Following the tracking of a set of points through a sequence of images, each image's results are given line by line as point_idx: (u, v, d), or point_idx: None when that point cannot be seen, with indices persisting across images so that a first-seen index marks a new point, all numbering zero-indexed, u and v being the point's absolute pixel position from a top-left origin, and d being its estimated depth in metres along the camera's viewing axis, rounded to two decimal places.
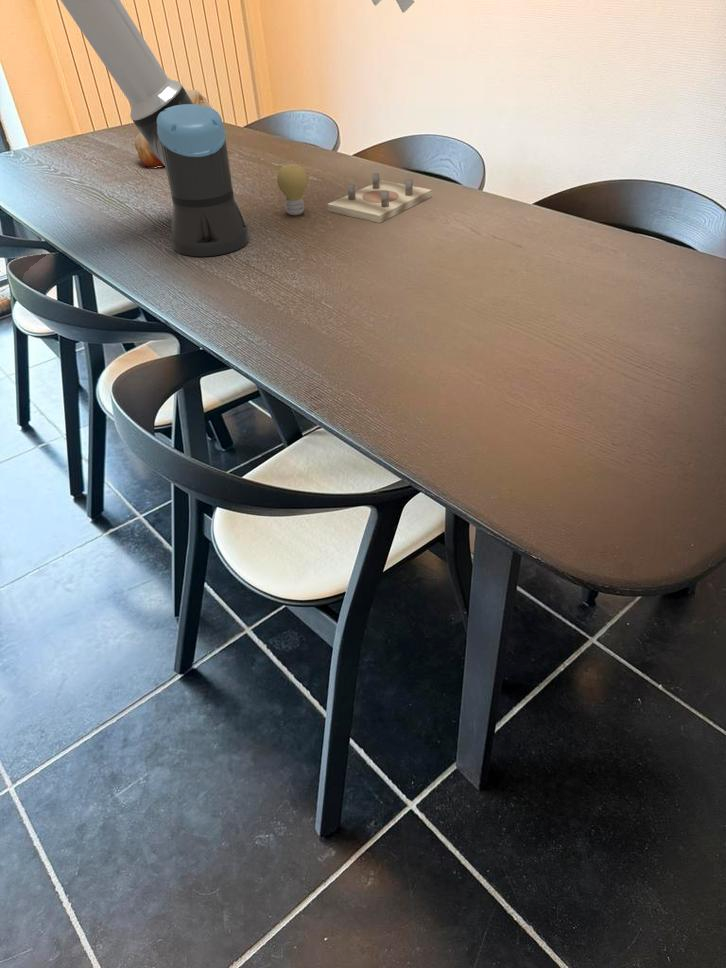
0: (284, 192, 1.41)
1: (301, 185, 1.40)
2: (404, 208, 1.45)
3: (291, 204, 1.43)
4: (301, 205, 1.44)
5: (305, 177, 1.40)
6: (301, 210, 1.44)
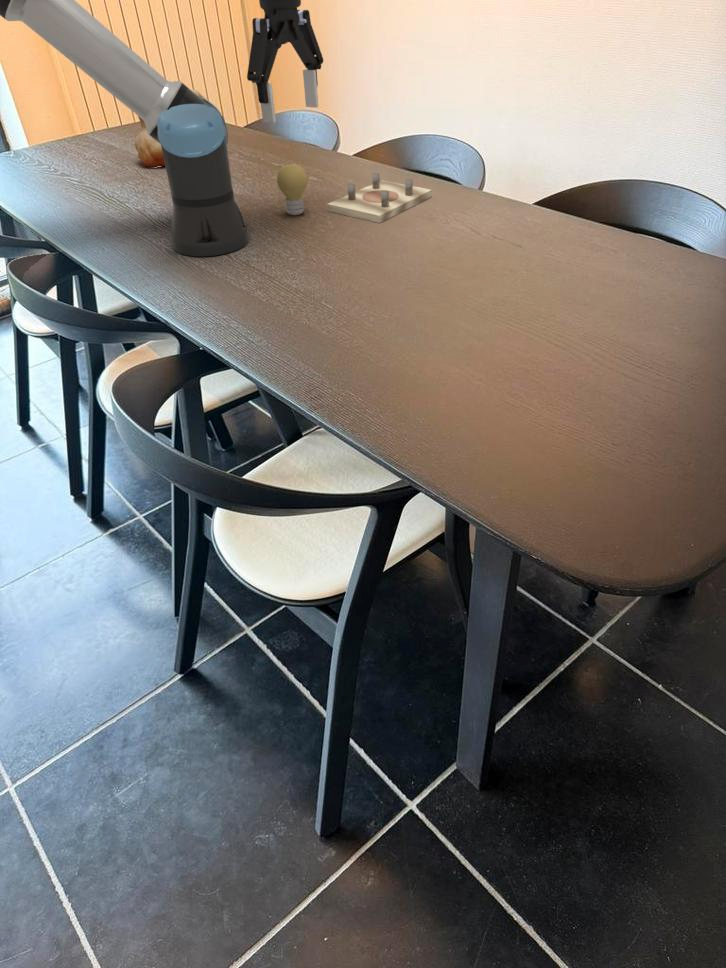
0: (284, 192, 1.41)
1: (301, 185, 1.40)
2: (404, 208, 1.45)
3: (291, 204, 1.43)
4: (301, 205, 1.44)
5: (305, 177, 1.40)
6: (301, 210, 1.44)
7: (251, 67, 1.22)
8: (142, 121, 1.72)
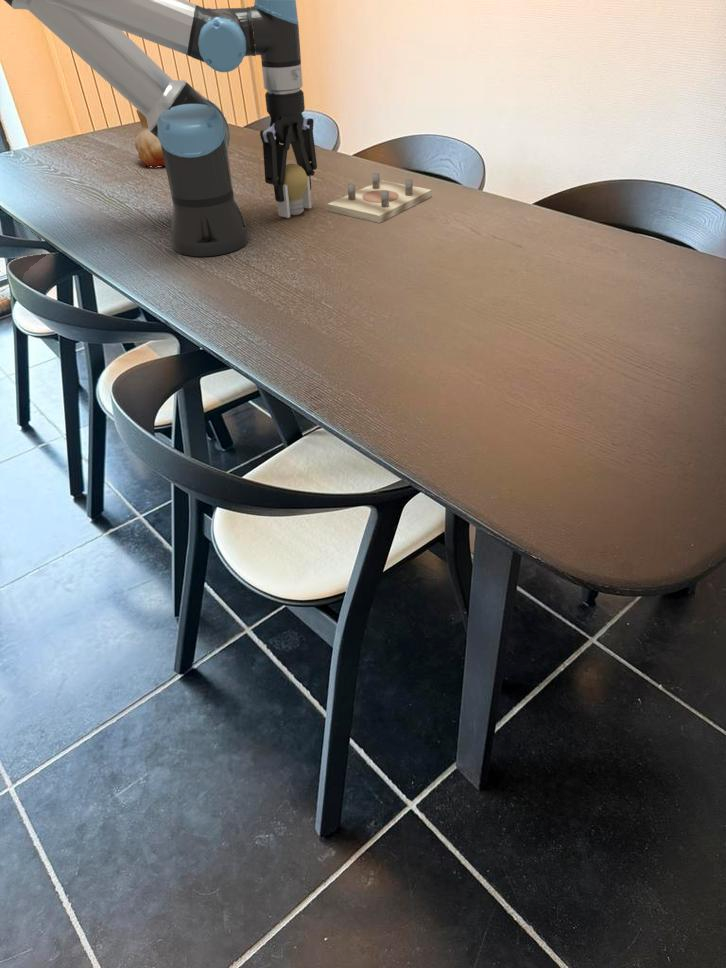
0: None
1: (301, 185, 1.40)
2: (404, 208, 1.45)
3: (291, 204, 1.43)
4: (301, 205, 1.44)
5: (305, 177, 1.40)
6: (301, 210, 1.44)
7: (267, 173, 1.35)
8: (142, 121, 1.72)
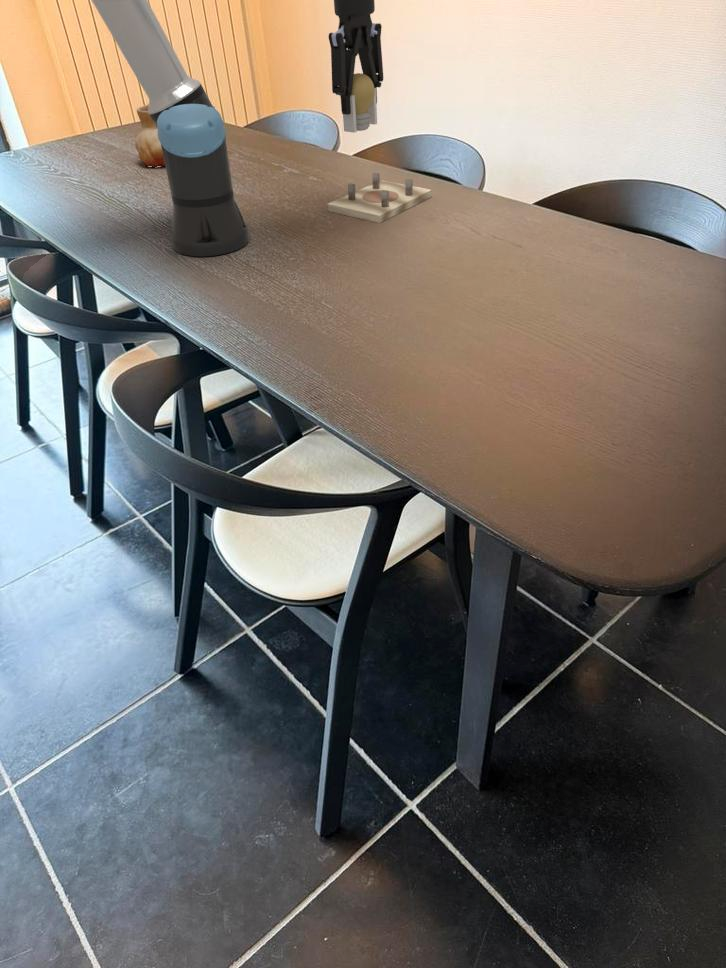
0: None
1: (368, 95, 1.32)
2: (404, 208, 1.45)
3: (357, 118, 1.35)
4: (367, 119, 1.36)
5: (373, 87, 1.32)
6: (367, 125, 1.37)
7: (335, 81, 1.28)
8: (142, 121, 1.72)
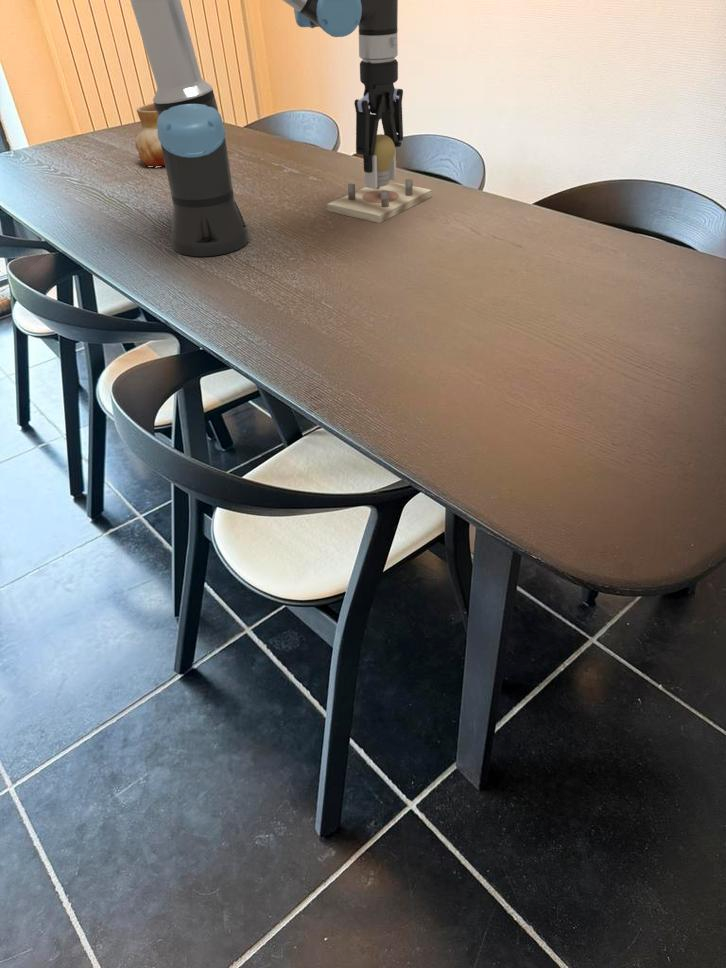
0: None
1: (390, 155, 1.40)
2: (404, 208, 1.45)
3: (378, 175, 1.43)
4: (388, 176, 1.44)
5: (394, 147, 1.40)
6: (387, 181, 1.45)
7: (359, 143, 1.36)
8: (143, 121, 1.72)
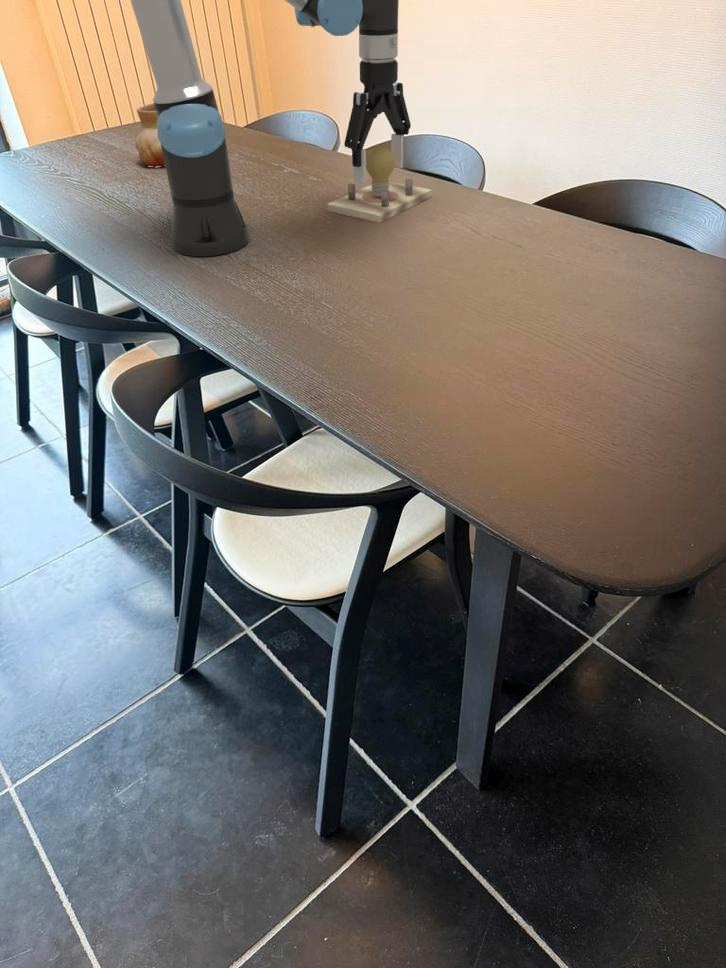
0: (372, 174, 1.43)
1: (389, 167, 1.42)
2: (404, 208, 1.45)
3: (378, 186, 1.45)
4: (387, 187, 1.46)
5: (393, 159, 1.42)
6: None
7: (349, 135, 1.33)
8: (143, 121, 1.72)
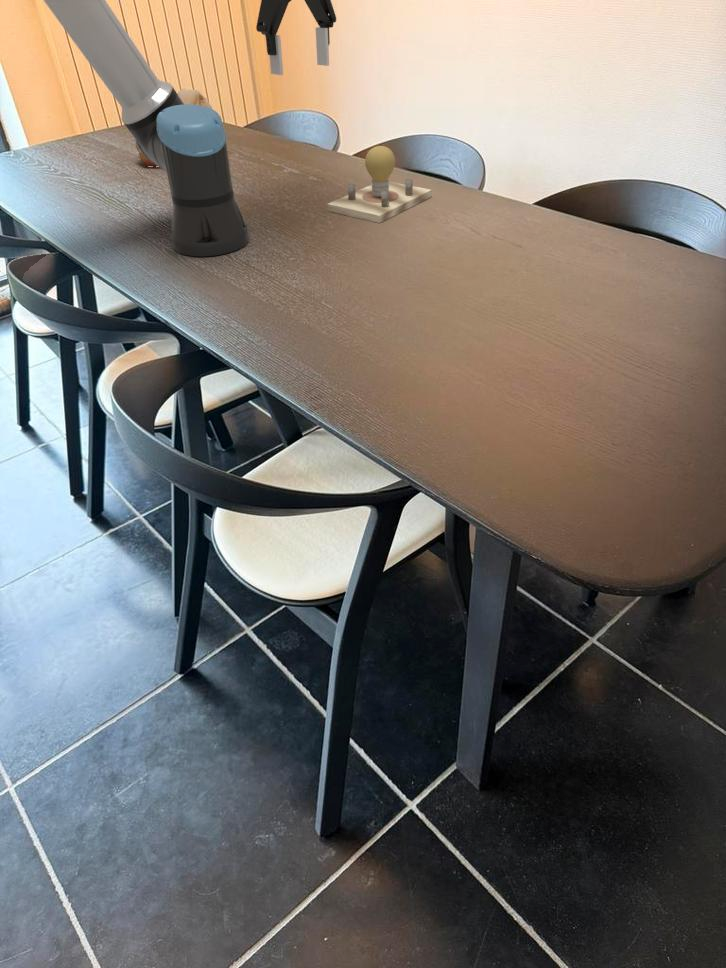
0: (372, 174, 1.43)
1: (390, 167, 1.42)
2: (404, 208, 1.45)
3: (378, 186, 1.45)
4: (387, 187, 1.46)
5: (393, 159, 1.42)
6: None
7: (260, 18, 1.26)
8: None
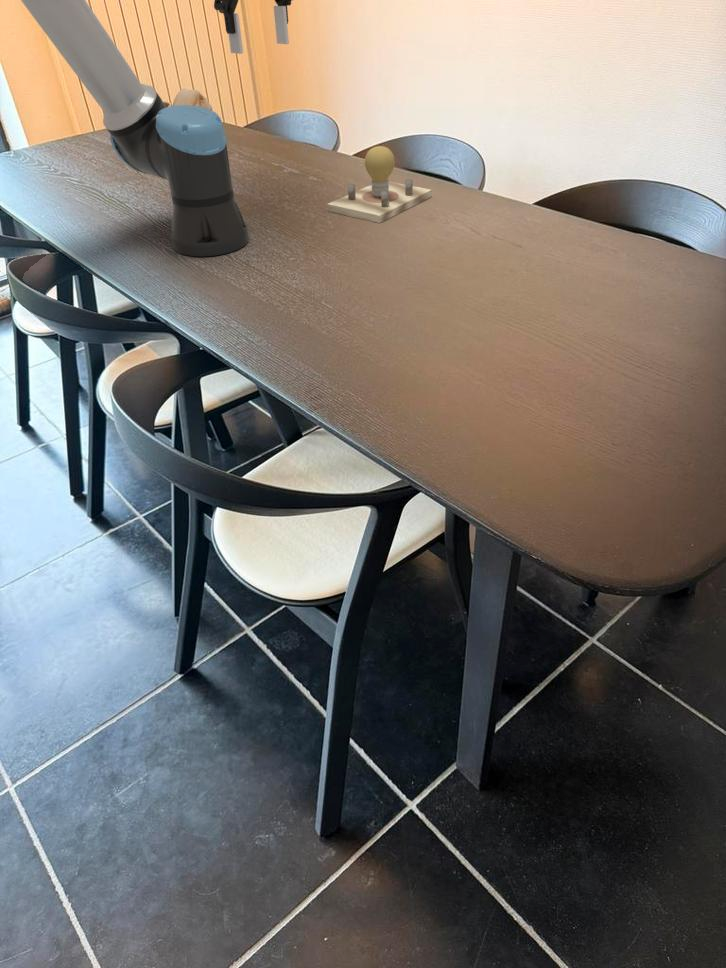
0: (372, 174, 1.43)
1: (389, 167, 1.42)
2: (404, 208, 1.45)
3: (378, 186, 1.45)
4: (387, 187, 1.46)
5: (393, 159, 1.42)
6: None
7: None
8: None
